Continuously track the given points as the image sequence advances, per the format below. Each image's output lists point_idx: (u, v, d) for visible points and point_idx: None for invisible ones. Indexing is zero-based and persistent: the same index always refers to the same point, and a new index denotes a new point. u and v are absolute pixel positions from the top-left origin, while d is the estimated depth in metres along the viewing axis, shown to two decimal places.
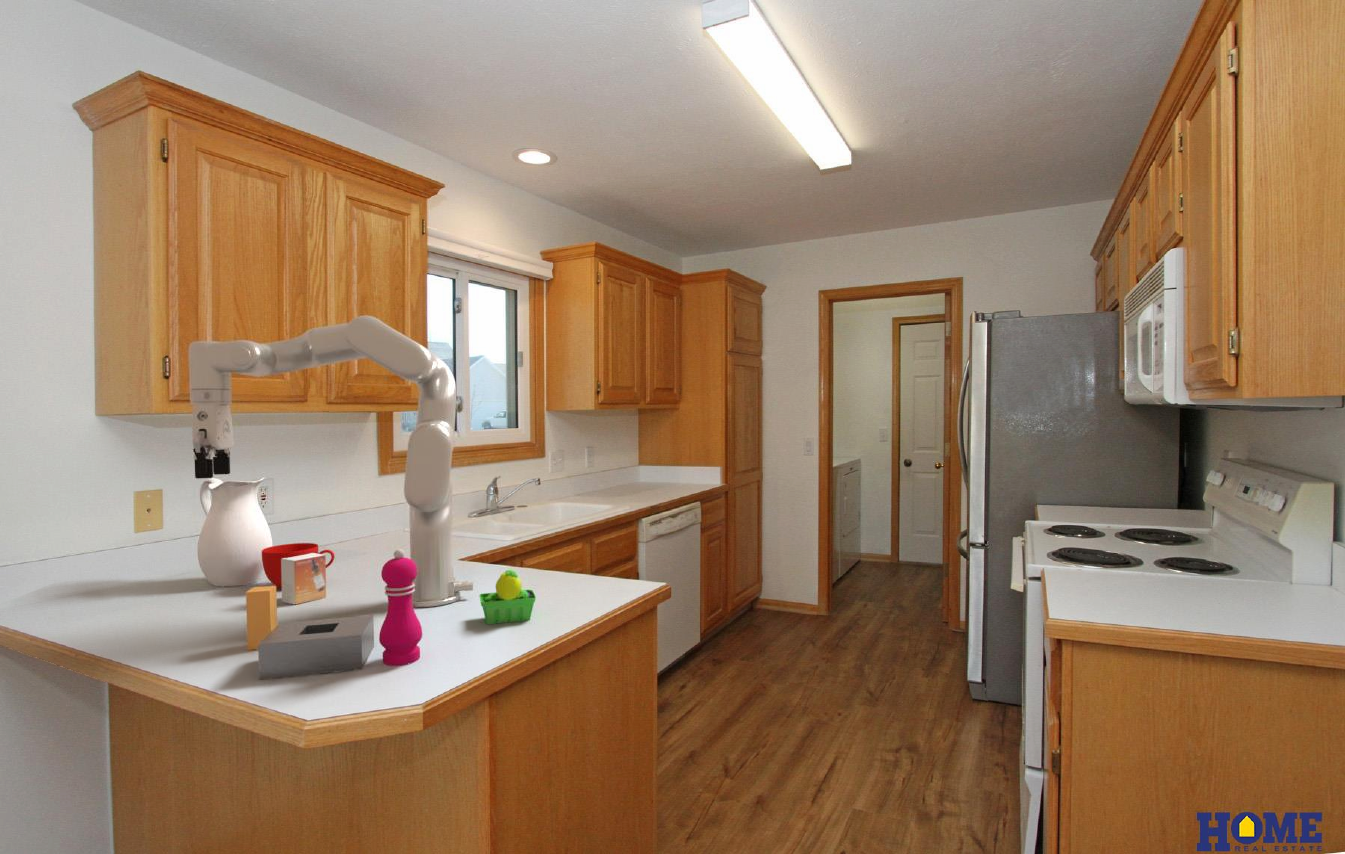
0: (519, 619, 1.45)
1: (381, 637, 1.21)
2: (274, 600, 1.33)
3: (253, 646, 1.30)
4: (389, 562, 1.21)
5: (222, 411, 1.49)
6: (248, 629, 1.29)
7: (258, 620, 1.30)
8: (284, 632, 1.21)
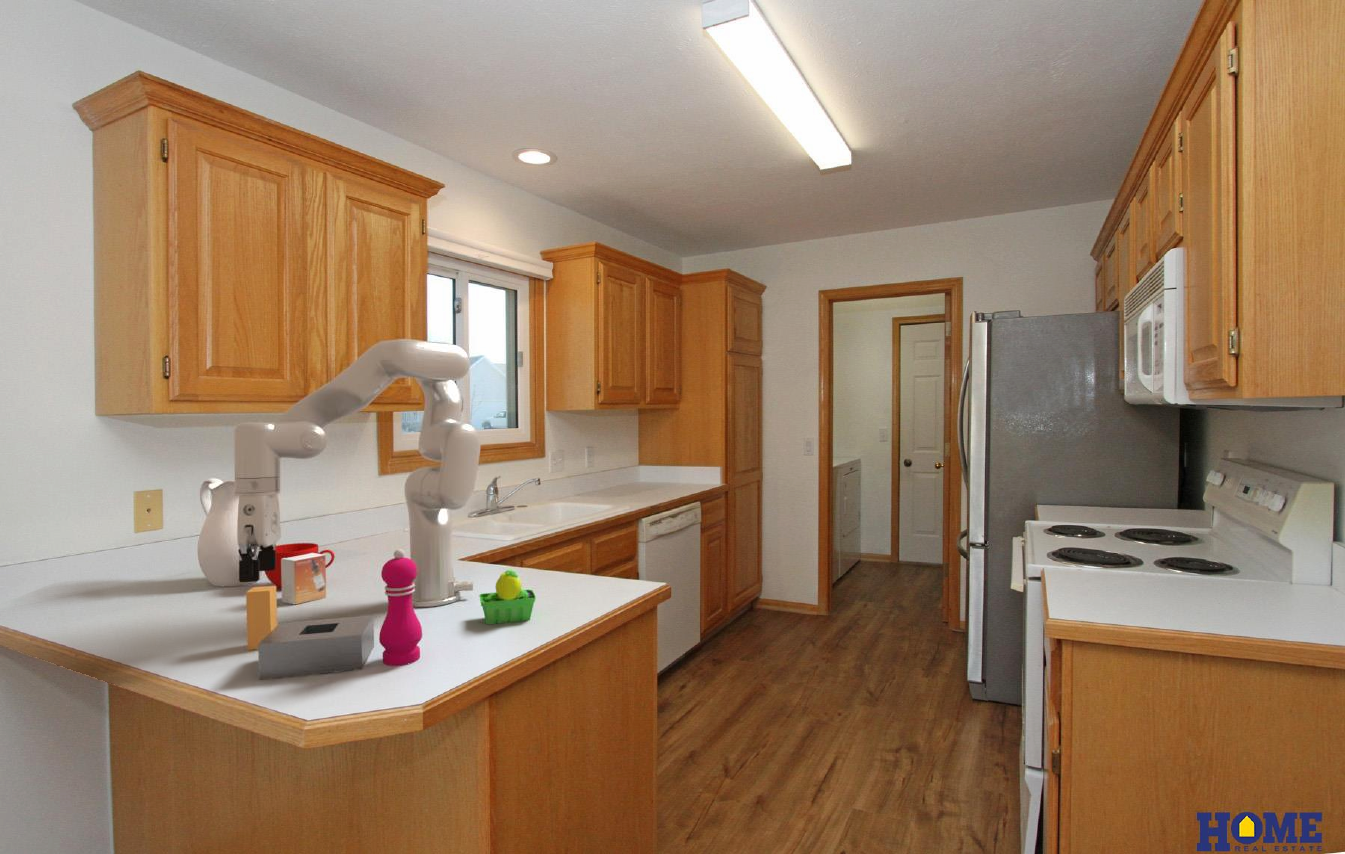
0: (519, 619, 1.45)
1: (381, 637, 1.21)
2: (274, 600, 1.33)
3: (253, 646, 1.30)
4: (389, 562, 1.21)
5: (270, 503, 1.30)
6: (248, 629, 1.29)
7: (258, 620, 1.30)
8: (284, 632, 1.21)
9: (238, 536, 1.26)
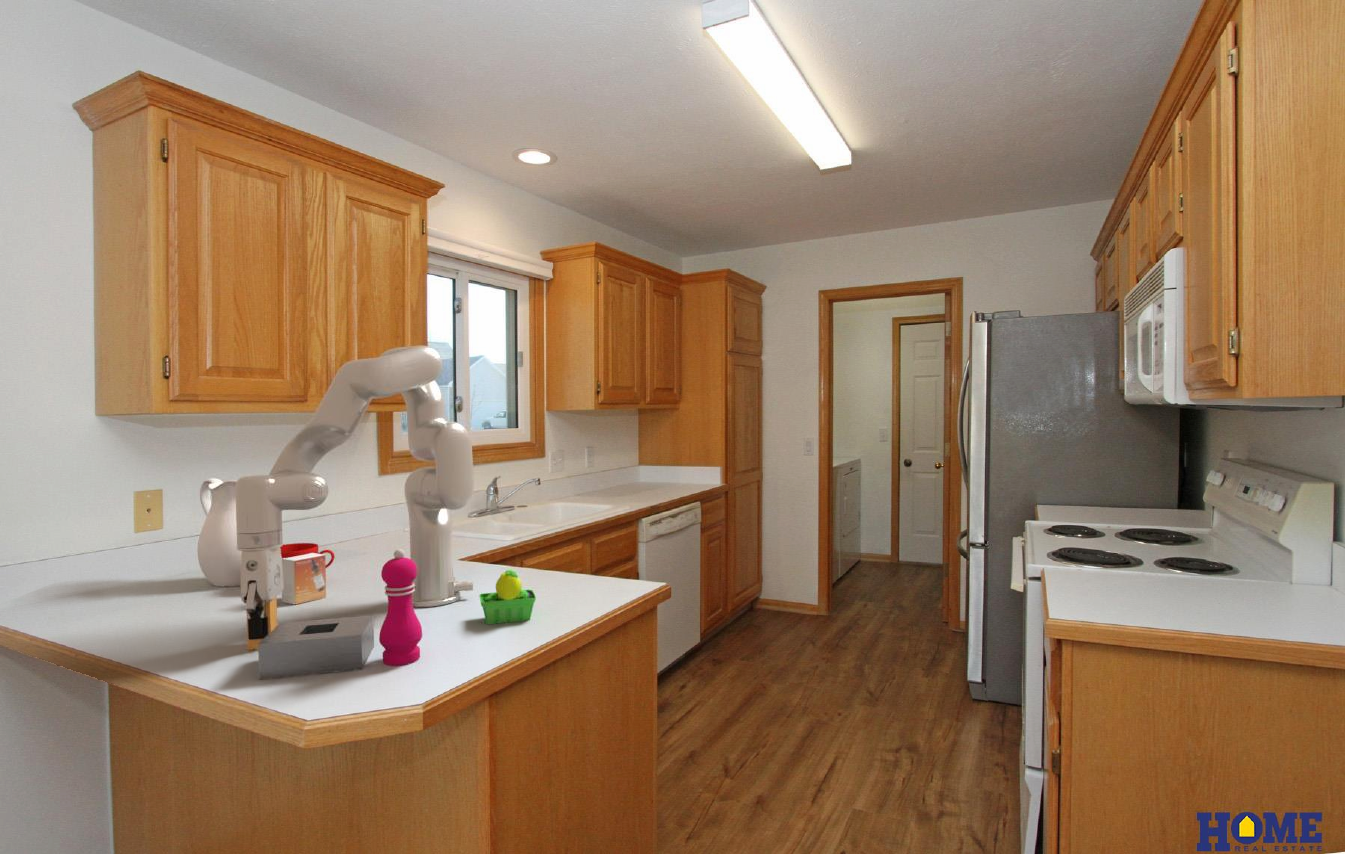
0: (519, 619, 1.45)
1: (381, 637, 1.21)
2: (274, 600, 1.33)
3: (253, 646, 1.30)
4: (389, 562, 1.21)
5: (273, 556, 1.31)
6: None
7: None
8: (284, 632, 1.21)
9: (241, 592, 1.27)
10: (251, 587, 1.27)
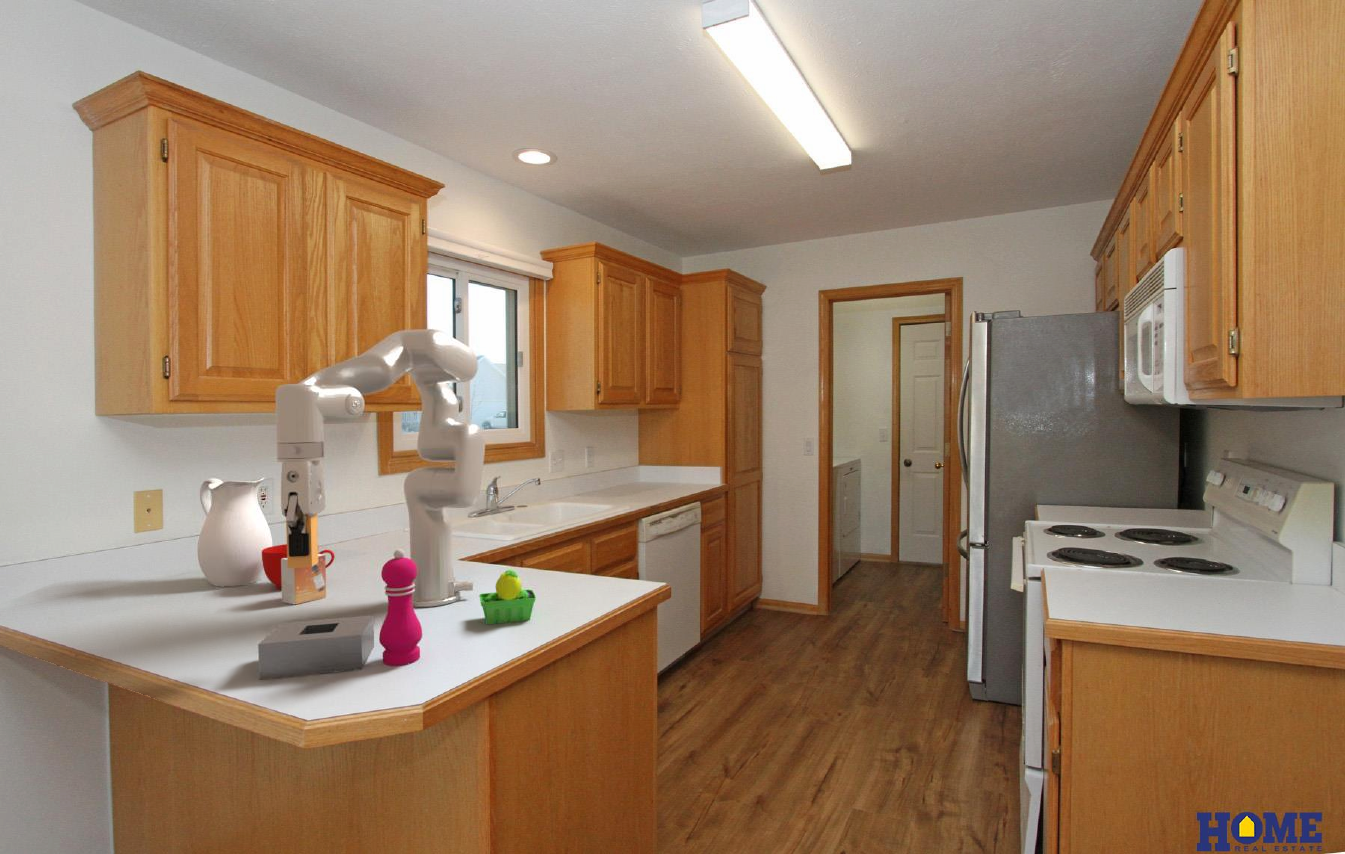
0: (519, 619, 1.45)
1: (381, 637, 1.21)
2: (315, 517, 1.25)
3: (293, 564, 1.22)
4: (389, 562, 1.21)
5: (314, 469, 1.23)
6: (288, 546, 1.22)
7: None
8: (284, 632, 1.21)
9: (282, 504, 1.19)
10: (292, 499, 1.19)
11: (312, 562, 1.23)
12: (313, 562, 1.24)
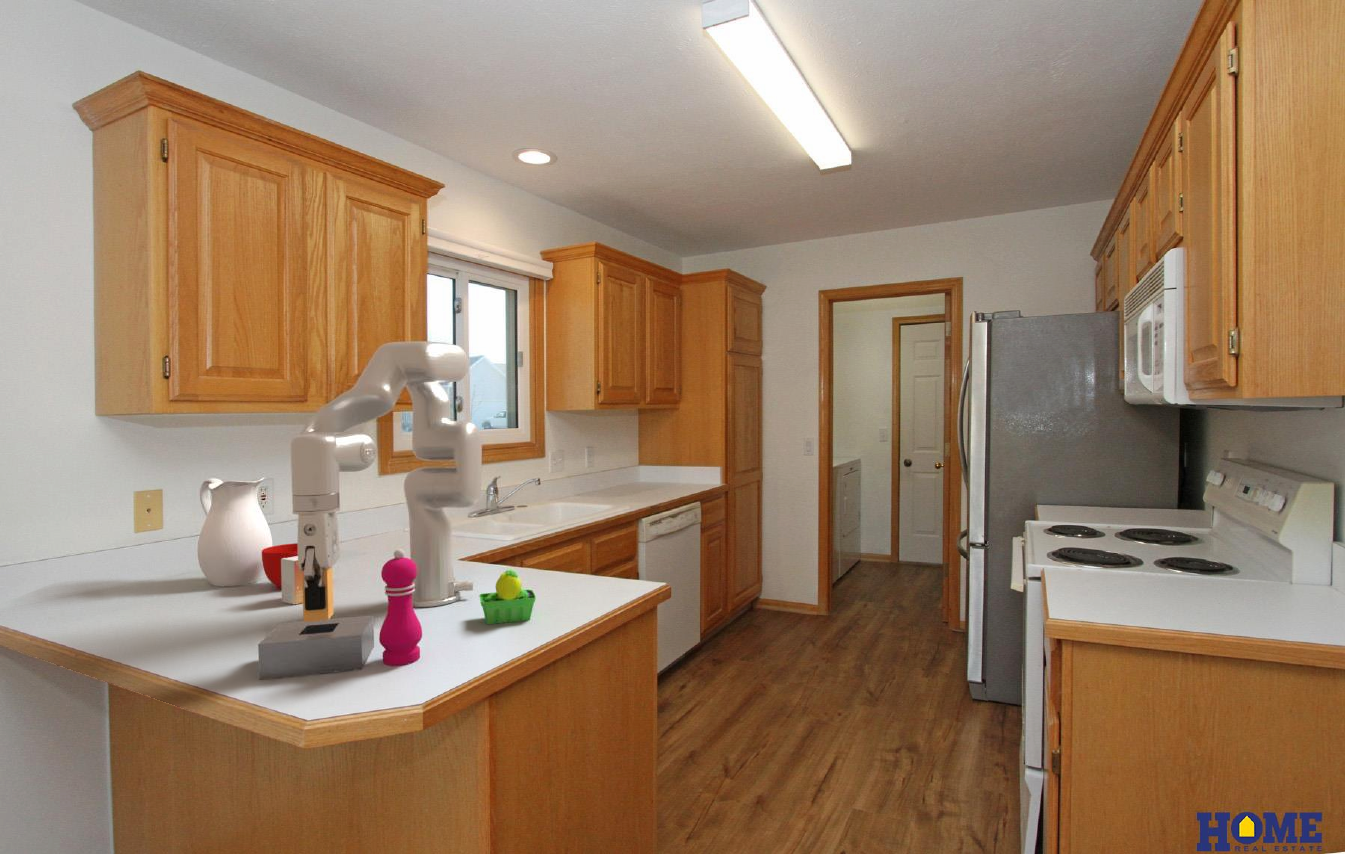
0: (519, 619, 1.45)
1: (381, 637, 1.21)
2: (330, 568, 1.24)
3: (309, 618, 1.20)
4: (389, 562, 1.21)
5: (331, 521, 1.21)
6: (304, 599, 1.20)
7: None
8: (284, 632, 1.21)
9: (299, 558, 1.17)
10: (309, 553, 1.17)
11: (328, 615, 1.21)
12: (329, 615, 1.22)
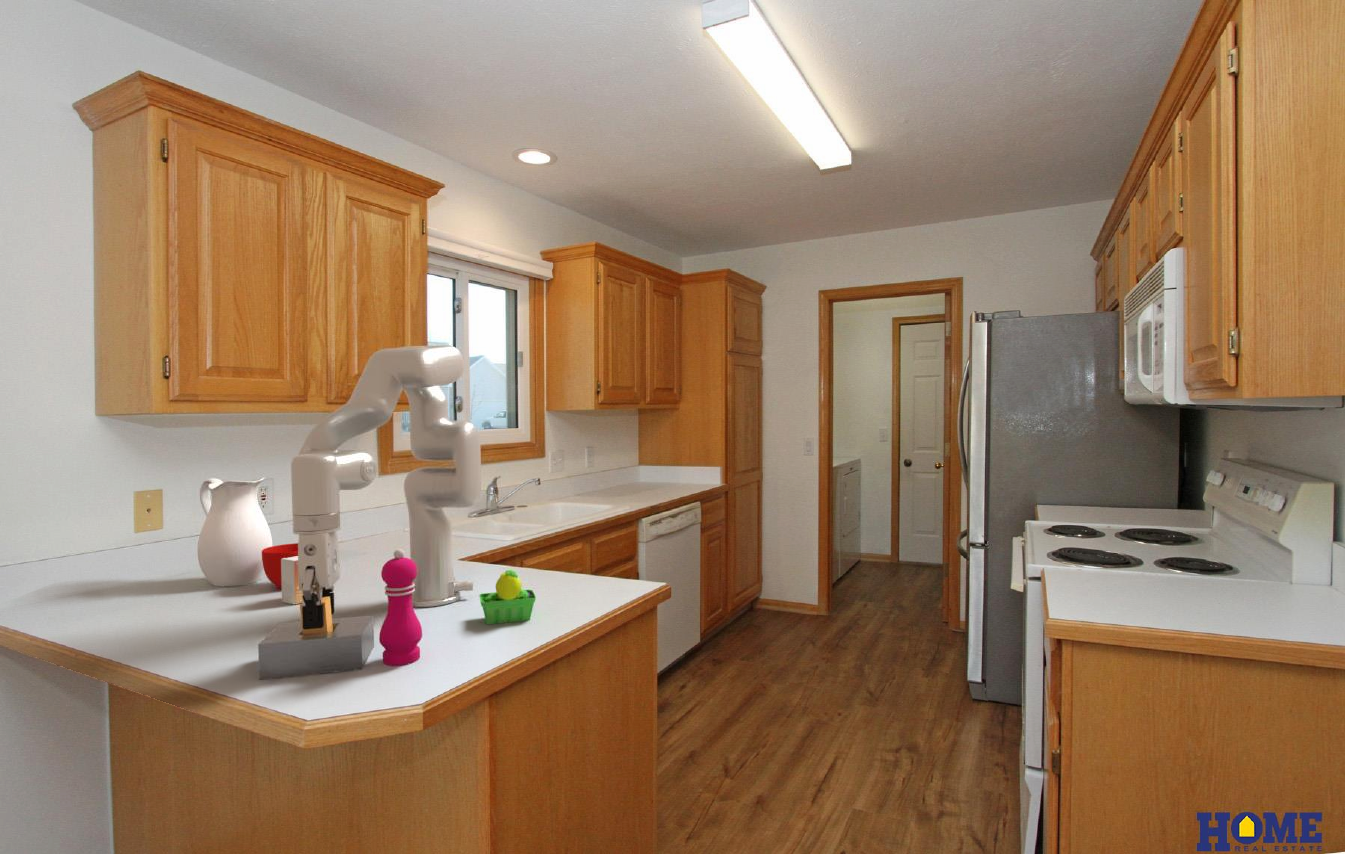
0: (519, 619, 1.45)
1: (381, 637, 1.21)
2: (329, 611, 1.24)
3: None
4: (389, 562, 1.21)
5: (331, 540, 1.21)
6: None
7: None
8: (284, 632, 1.21)
9: (299, 578, 1.17)
10: None
11: None
12: None
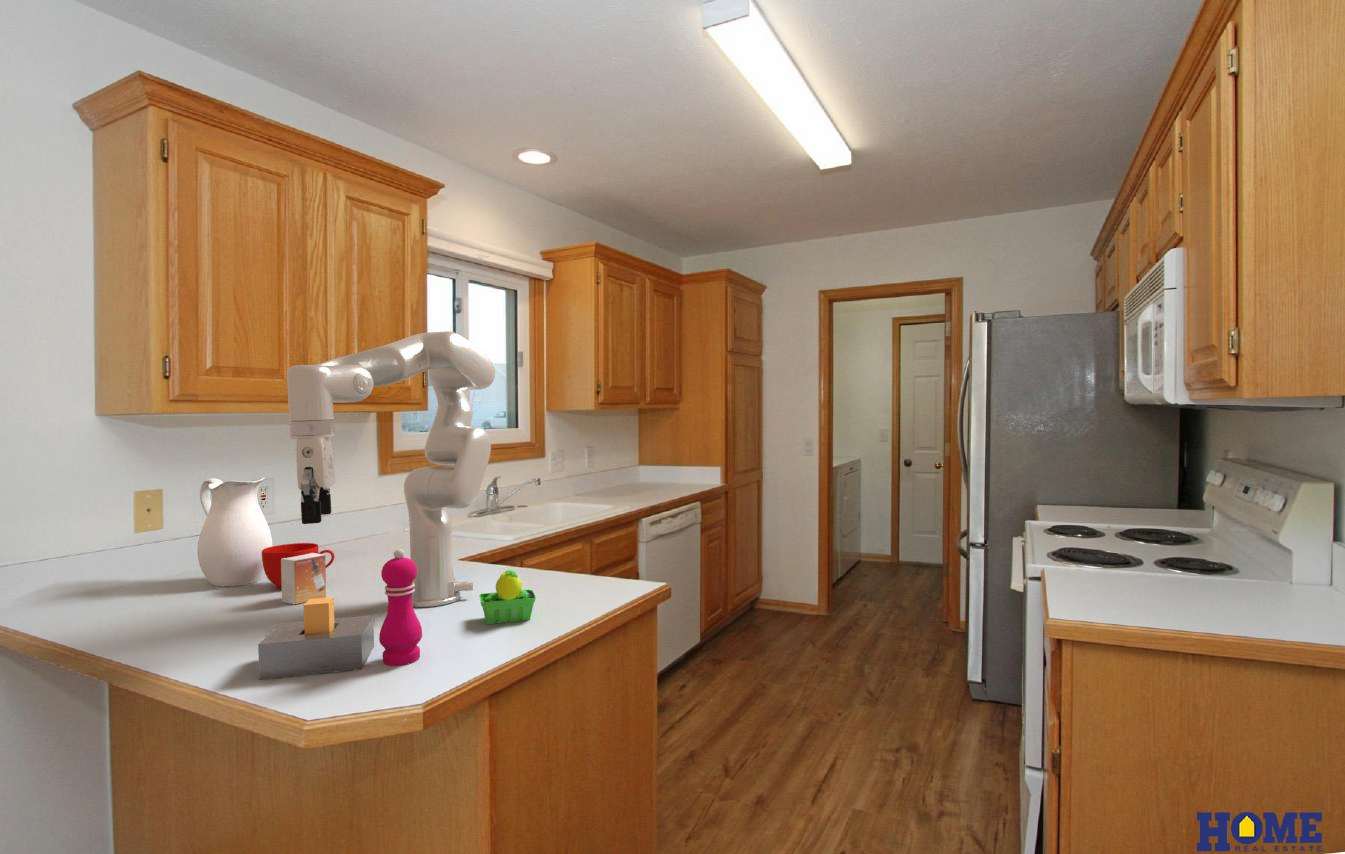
0: (519, 619, 1.45)
1: (381, 637, 1.21)
2: (332, 612, 1.24)
3: None
4: (389, 562, 1.21)
5: (327, 445, 1.30)
6: None
7: None
8: (284, 632, 1.21)
9: (298, 478, 1.26)
10: None
11: None
12: None
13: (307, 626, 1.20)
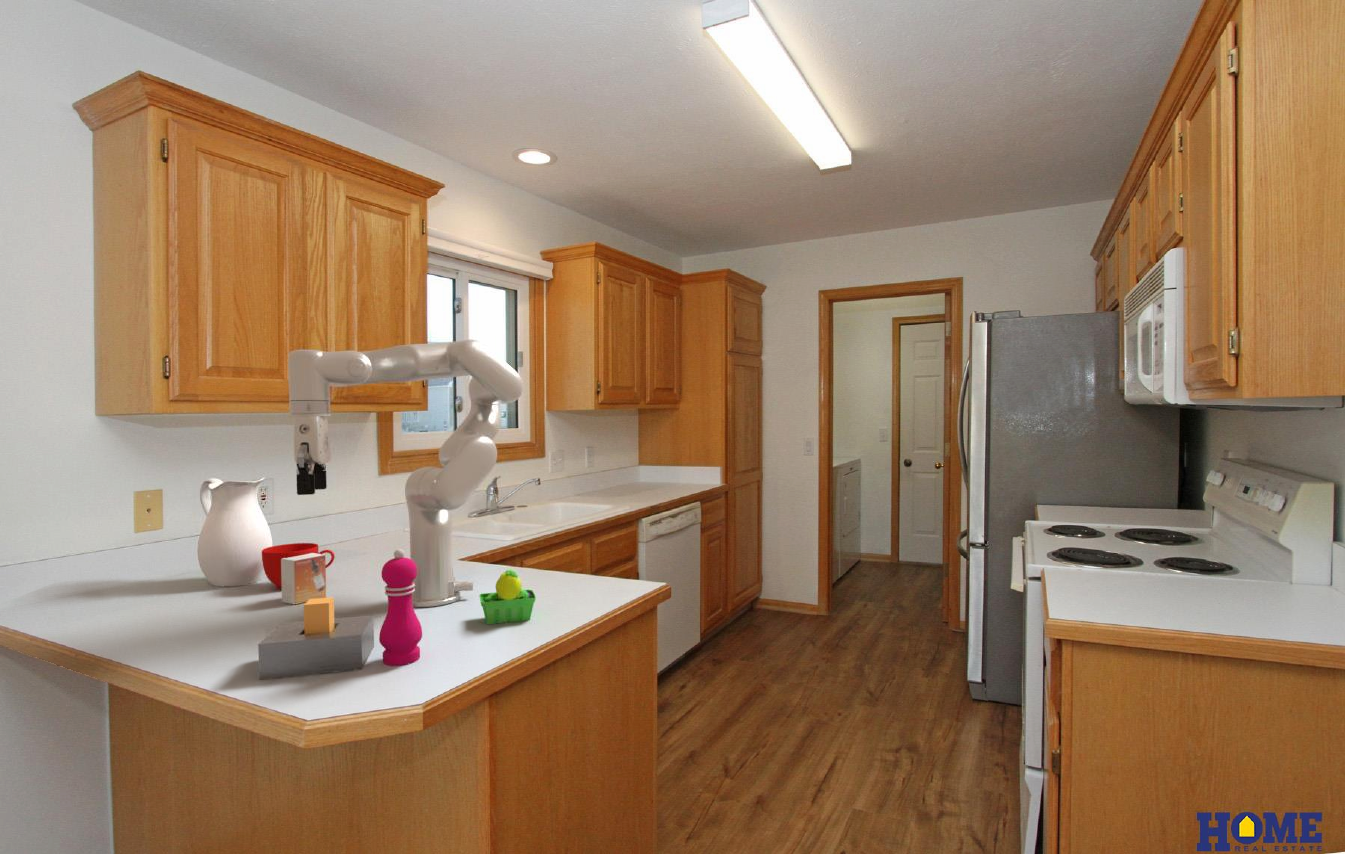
0: (519, 619, 1.45)
1: (381, 637, 1.21)
2: (332, 612, 1.24)
3: None
4: (389, 562, 1.21)
5: (322, 424, 1.41)
6: None
7: None
8: (284, 632, 1.21)
9: (295, 453, 1.37)
10: None
11: None
12: None
13: (307, 626, 1.20)
